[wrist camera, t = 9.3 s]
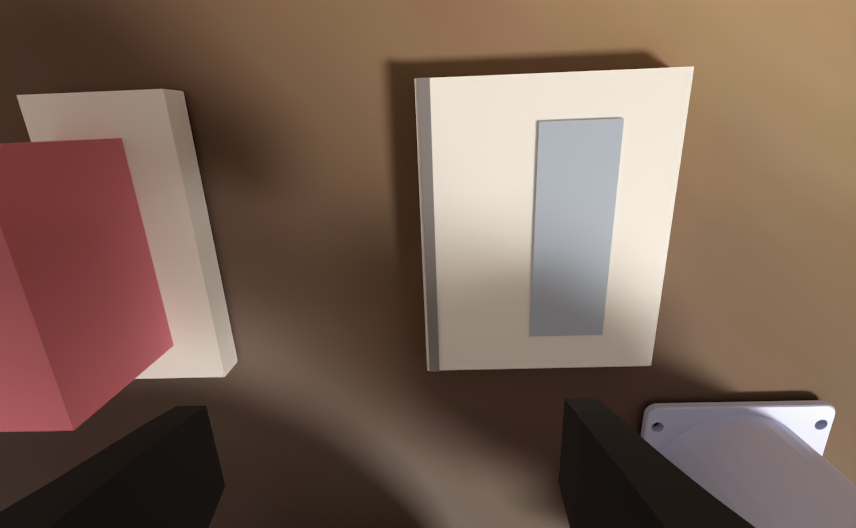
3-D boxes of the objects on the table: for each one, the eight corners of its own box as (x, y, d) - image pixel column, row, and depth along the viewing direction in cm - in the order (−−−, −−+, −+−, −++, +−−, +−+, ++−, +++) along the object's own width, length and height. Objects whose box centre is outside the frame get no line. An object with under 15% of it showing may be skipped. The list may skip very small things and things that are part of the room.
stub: (237, 361, 19) (146, 470, 13) (125, 364, 19) (-15, 473, 13) (183, 91, 15) (25, 72, 9) (47, 96, 16) (-191, 82, 10)
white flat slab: (637, 350, 18) (652, 367, 17) (427, 355, 19) (427, 372, 17) (674, 70, 15) (695, 66, 14) (416, 81, 15) (414, 78, 14)
